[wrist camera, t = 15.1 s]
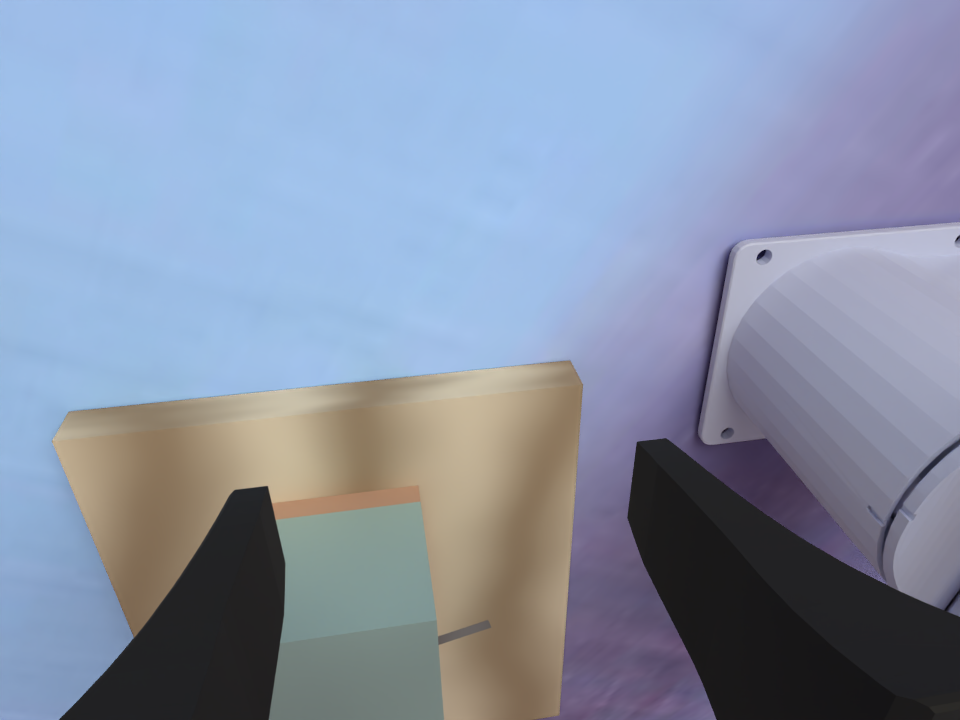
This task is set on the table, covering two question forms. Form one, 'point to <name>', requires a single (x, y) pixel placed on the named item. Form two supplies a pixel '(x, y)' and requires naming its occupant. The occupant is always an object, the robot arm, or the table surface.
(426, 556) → the block
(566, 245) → the table surface
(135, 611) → the birch board
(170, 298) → the table surface
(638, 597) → the table surface
